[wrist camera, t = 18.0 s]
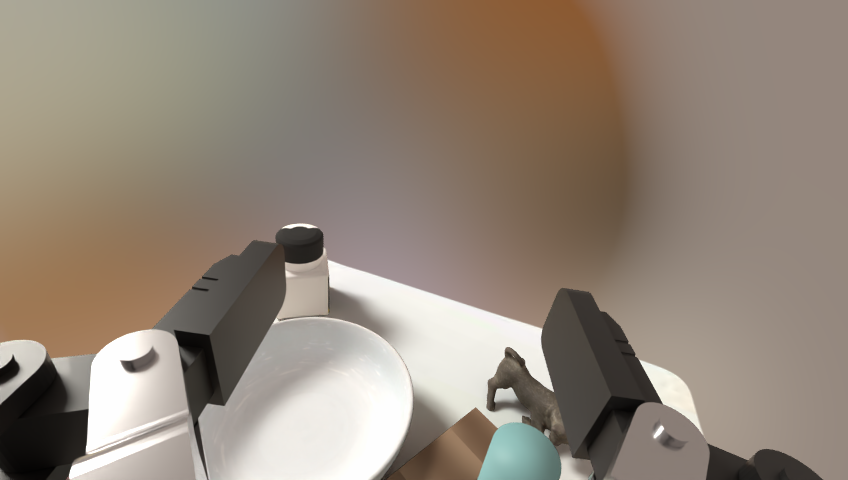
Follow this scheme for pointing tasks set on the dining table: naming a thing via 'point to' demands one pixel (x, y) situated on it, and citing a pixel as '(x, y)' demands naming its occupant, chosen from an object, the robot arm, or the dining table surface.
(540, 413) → the dog figurine
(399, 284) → the dining table surface
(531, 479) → the pin
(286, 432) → the serving bowl
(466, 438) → the socket board
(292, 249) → the medicine bottle
